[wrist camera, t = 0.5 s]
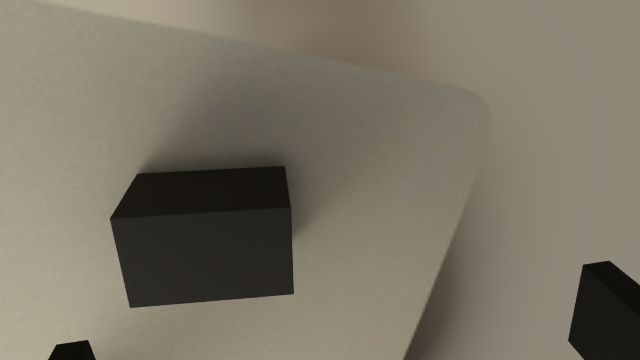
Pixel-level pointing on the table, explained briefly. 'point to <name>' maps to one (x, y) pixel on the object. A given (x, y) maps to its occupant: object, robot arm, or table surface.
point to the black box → (205, 236)
